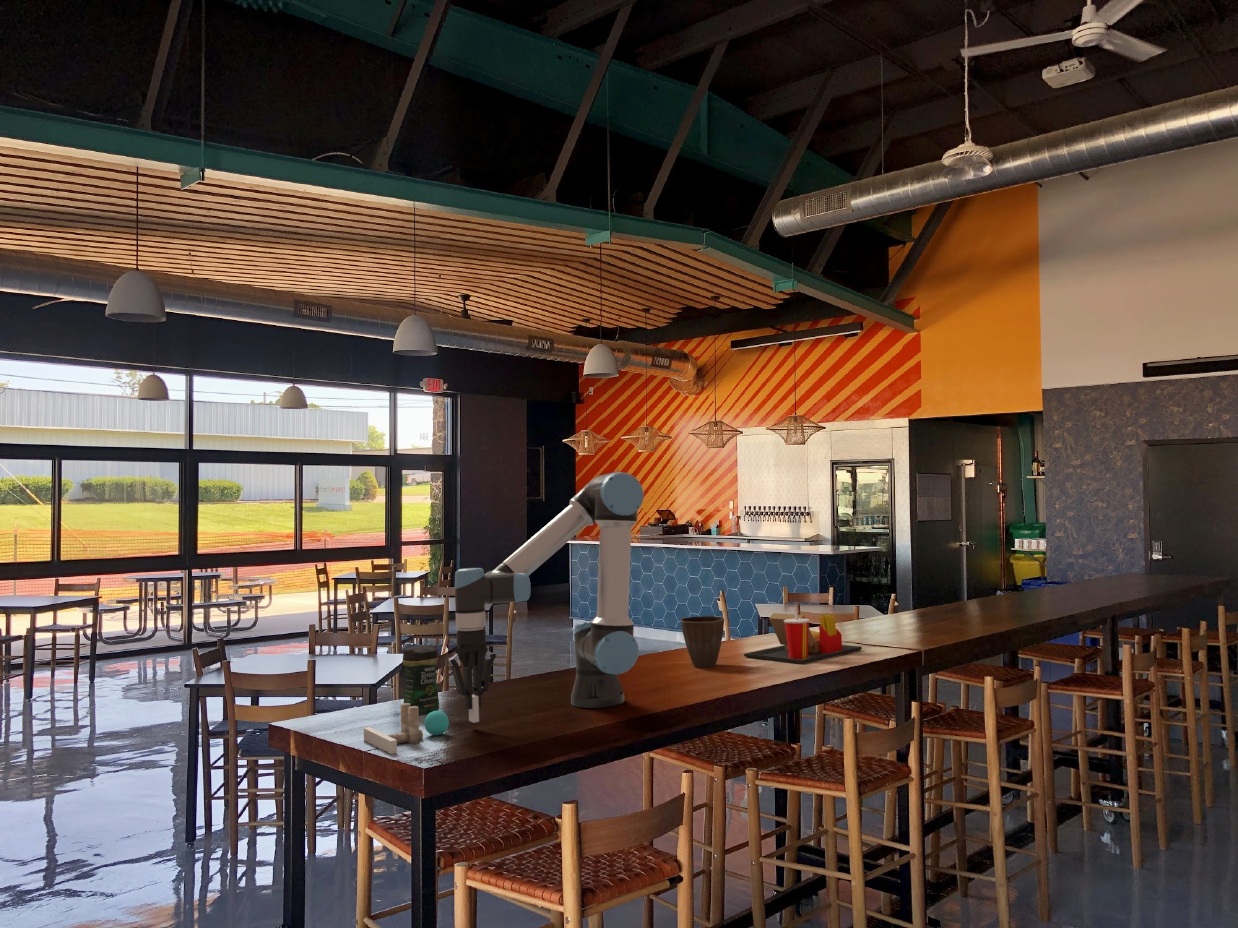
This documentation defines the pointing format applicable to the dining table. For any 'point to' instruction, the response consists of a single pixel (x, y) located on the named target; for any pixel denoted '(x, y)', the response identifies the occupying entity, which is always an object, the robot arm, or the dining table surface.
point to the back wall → (380, 740)
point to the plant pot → (703, 639)
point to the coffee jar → (421, 678)
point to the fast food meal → (803, 640)
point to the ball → (436, 723)
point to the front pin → (404, 736)
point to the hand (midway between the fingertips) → (474, 721)
